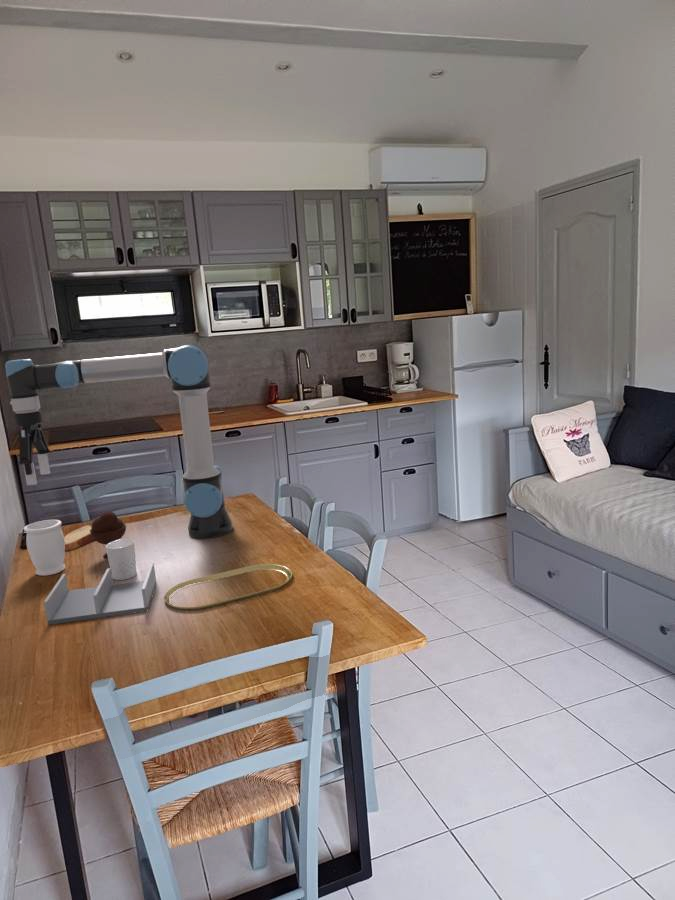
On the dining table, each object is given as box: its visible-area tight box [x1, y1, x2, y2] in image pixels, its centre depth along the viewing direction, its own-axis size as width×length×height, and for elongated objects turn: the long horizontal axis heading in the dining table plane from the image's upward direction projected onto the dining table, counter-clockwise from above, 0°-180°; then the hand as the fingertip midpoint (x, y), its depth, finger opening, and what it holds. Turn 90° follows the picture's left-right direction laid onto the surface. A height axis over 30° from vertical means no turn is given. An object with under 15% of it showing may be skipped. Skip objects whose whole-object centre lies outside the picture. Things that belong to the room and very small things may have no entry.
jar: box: [23, 519, 66, 577], centre depth 192 cm, size 11×10×15 cm
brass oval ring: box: [163, 563, 293, 611], centre depth 172 cm, size 19×35×2 cm, turn 115°
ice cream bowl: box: [90, 511, 127, 560], centre depth 202 cm, size 11×11×15 cm
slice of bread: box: [64, 524, 95, 552], centre depth 221 cm, size 18×18×4 cm
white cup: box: [105, 538, 137, 581], centre depth 185 cm, size 8×8×10 cm
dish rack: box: [43, 562, 157, 626], centre depth 167 cm, size 24×18×6 cm
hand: (39, 479), depth 194 cm, fingers open, 13 cm apart
